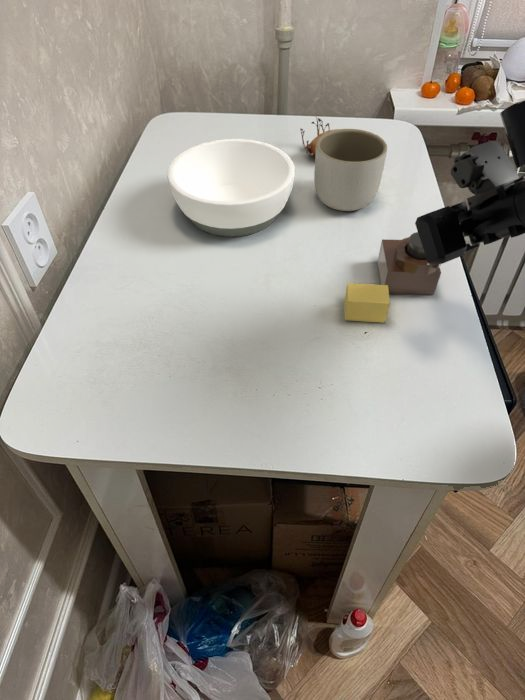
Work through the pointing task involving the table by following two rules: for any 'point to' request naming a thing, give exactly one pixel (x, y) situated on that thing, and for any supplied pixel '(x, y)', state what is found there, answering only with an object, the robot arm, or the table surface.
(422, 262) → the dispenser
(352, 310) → the yellow block
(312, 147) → the vegetable
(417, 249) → the dark grey short cylinder
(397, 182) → the table surface
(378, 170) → the planter
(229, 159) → the bowl
